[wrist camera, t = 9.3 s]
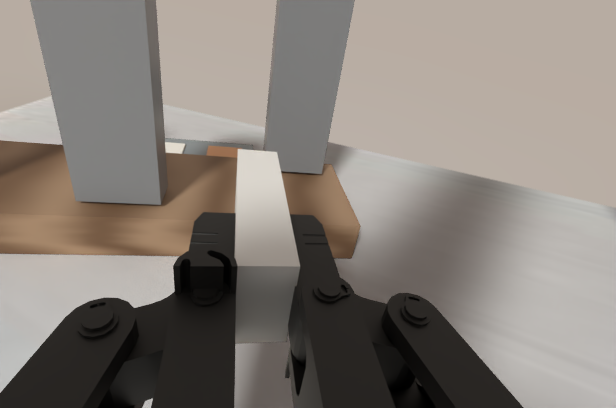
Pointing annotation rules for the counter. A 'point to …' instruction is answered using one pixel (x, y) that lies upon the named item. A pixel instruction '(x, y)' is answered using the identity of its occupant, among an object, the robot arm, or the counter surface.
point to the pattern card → (204, 147)
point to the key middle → (106, 96)
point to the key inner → (305, 80)
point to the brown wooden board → (144, 206)
